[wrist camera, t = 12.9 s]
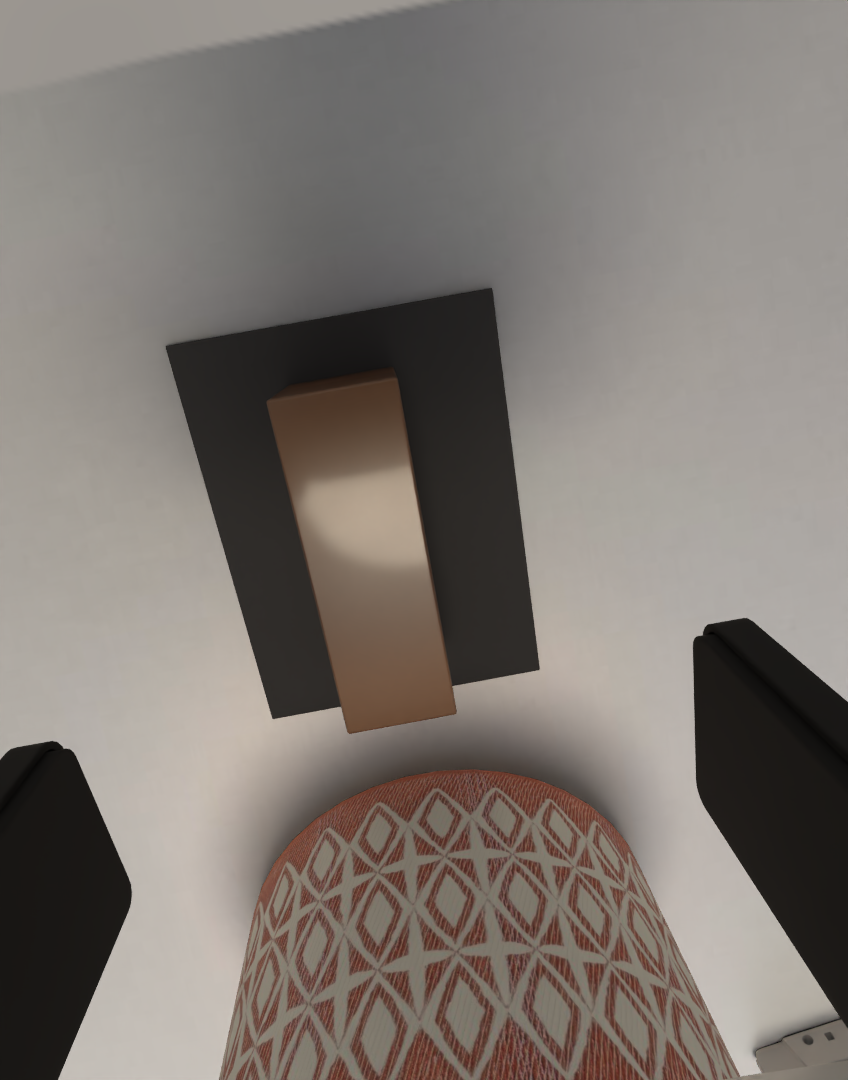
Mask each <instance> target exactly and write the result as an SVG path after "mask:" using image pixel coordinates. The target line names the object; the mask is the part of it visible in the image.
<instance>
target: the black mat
mask: <svg viewBox="0 0 848 1080" xmlns="http://www.w3.org/2000/svg"><path fill="white" fill-rule="evenodd" d="M166 350H167V353H168V357H169V360H170V364H171V367H172V371H173V374H174V378H175V381H176V385H177V388H178V392H179V395H180V399H181V402H182V406H183V409H184V413H185V416H186V419H187V423H188V426H189V430H190V433H191V437H192V440H193V444H194V447H195V451H196V454H197V458H198V461H199V465H200V468H201V472H202V475H203V479H204V482H205V485H206V489H207V492H208V496H209V499H210V503H211V506H212V510H213V513H214V517H215V520H216V524H217V527H218V531H219V534H220V538H221V541H222V544H223V548H224V551H225V555H226V558H227V562H228V565H229V569H230V572H231V576H232V579H233V583H234V586H235V590H236V593H237V597H238V600H239V604H240V607H241V610H242V614H243V617H244V621H245V624H246V628H247V631H248V635H249V638H250V642H251V645H252V649H253V652H254V656H255V659H256V663H257V666H258V669H259V673H260V676H261V680H262V683H263V687H264V690H265V694H266V697H267V701H268V704H269V708H270V711H271V715H272V718H273V719H276V718H281V717H287V716H292V715H298V714H303V713H308V712H314V711H319V710H325V709H330V708H335V707H341V704H340V700H339V696H338V692H337V688H336V684H335V680H334V675H333V671H332V667H331V663H330V659H329V655H328V651H327V647H326V643H325V639H324V635H323V631H322V627H321V623H320V619H319V614H318V610H317V606H316V602H315V598H314V594H313V590H312V586H311V582H310V578H309V574H308V570H307V566H306V562H305V558H304V553H303V549H302V545H301V541H300V537H299V533H298V529H297V525H296V521H295V517H294V513H293V509H292V505H291V501H290V497H289V492H288V488H287V484H286V480H285V476H284V472H283V468H282V464H281V460H280V456H279V452H278V448H277V444H276V440H275V436H274V431H273V427H272V423H271V419H270V415H269V411H268V407H267V400H269V399H270V398H272V397H273V396H275V395H276V394H277V393H279V392H280V391H282V390H283V389H284V388H286V387H287V386H289V385H292V384H298V383H303V382H309V381H314V380H320V379H326V378H331V377H337V376H342V375H348V374H353V373H359V372H365V371H370V370H376V369H381V368H387V367H393V368H394V371H395V373H396V376H397V379H398V384H399V390H400V395H401V401H402V407H403V412H404V418H405V424H406V429H407V435H408V440H409V446H410V452H411V457H412V463H413V469H414V474H415V480H416V485H417V491H418V497H419V502H420V508H421V514H422V519H423V525H424V530H425V536H426V542H427V547H428V553H429V559H430V564H431V570H432V575H433V581H434V587H435V592H436V598H437V604H438V609H439V615H440V620H441V626H442V632H443V637H444V643H445V649H446V654H447V660H448V665H449V671H450V677H451V682H452V686H455V685H460V684H466V683H471V682H476V681H482V680H487V679H493V678H498V677H503V676H509V675H514V674H520V673H525V672H531V671H536V670H539V669H540V668H539V660H538V652H537V644H536V636H535V628H534V620H533V612H532V604H531V596H530V588H529V580H528V572H527V564H526V556H525V548H524V540H523V532H522V524H521V516H520V508H519V500H518V492H517V484H516V476H515V468H514V460H513V452H512V444H511V436H510V428H509V420H508V412H507V404H506V396H505V388H504V380H503V372H502V364H501V356H500V348H499V340H498V332H497V324H496V316H495V308H494V300H493V292H492V288H489V289H484V290H478V291H472V292H467V293H461V294H455V295H450V296H444V297H439V298H433V299H427V300H422V301H416V302H411V303H405V304H399V305H394V306H388V307H383V308H377V309H371V310H366V311H360V312H354V313H349V314H343V315H338V316H332V317H326V318H321V319H315V320H310V321H304V322H298V323H293V324H287V325H282V326H276V327H270V328H265V329H259V330H253V331H248V332H242V333H237V334H231V335H225V336H220V337H214V338H209V339H203V340H197V341H192V342H186V343H181V344H175V345H169V346H166Z"/></svg>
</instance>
